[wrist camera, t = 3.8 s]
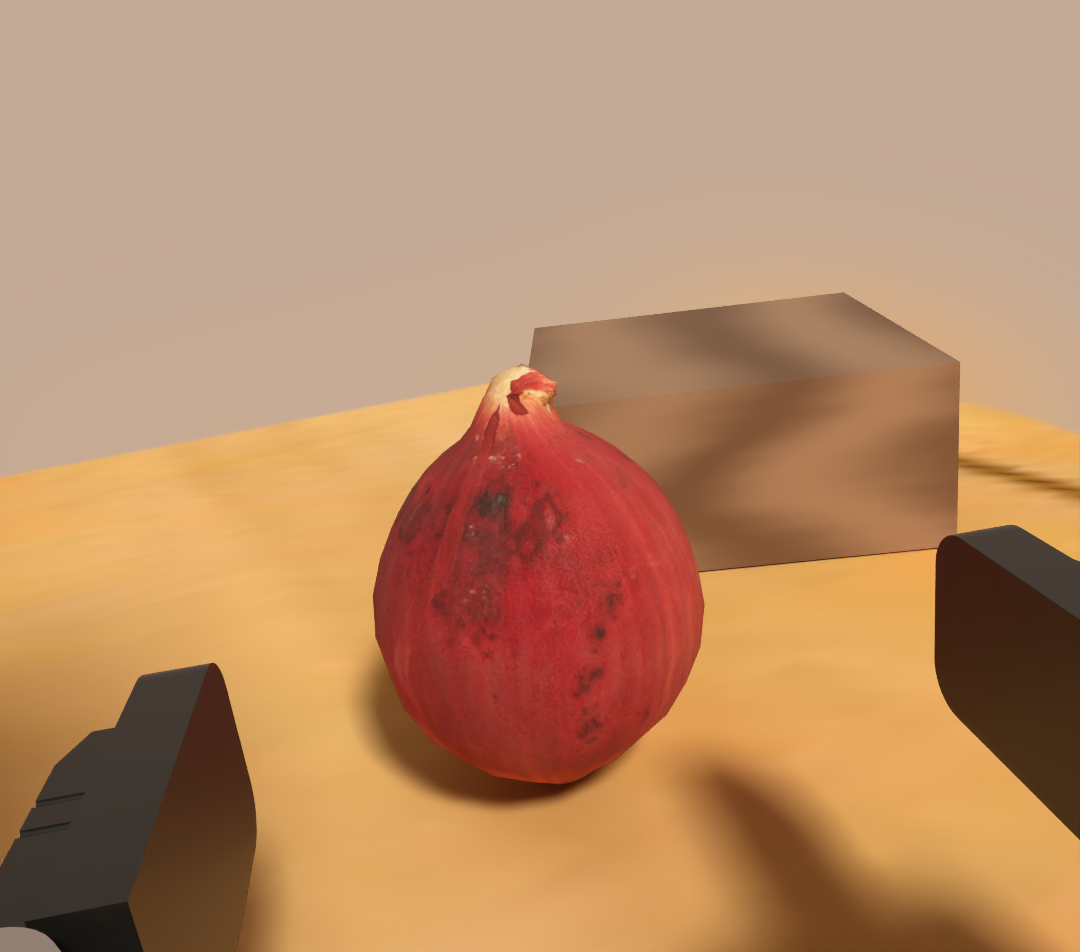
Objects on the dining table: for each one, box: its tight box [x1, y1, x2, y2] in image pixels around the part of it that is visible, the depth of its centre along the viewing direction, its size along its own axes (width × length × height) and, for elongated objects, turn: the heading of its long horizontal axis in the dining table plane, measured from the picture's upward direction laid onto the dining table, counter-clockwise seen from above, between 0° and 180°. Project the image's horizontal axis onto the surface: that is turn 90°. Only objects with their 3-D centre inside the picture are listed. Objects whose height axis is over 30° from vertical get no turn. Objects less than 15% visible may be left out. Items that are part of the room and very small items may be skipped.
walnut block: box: [529, 293, 960, 571], centre depth 31 cm, size 11×11×5 cm
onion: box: [373, 364, 704, 785], centre depth 18 cm, size 6×6×8 cm
